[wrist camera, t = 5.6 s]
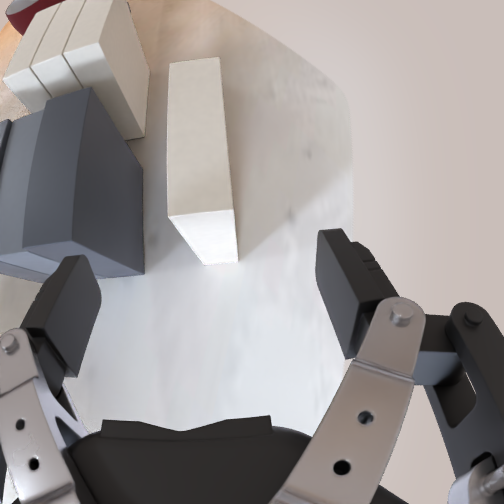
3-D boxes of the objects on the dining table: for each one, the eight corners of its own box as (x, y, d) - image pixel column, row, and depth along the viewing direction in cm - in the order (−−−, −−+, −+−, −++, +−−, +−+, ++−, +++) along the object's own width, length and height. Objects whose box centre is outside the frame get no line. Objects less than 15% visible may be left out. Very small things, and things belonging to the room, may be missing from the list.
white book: (203, 265, 24) (166, 217, 12) (196, 162, 25) (169, 61, 14) (238, 262, 24) (234, 210, 12) (228, 159, 26) (220, 54, 14)
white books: (68, 153, 25) (1, 80, 14) (81, 87, 27) (36, 12, 15) (145, 137, 26) (98, 42, 14) (150, 70, 28) (121, -19, 16)
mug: (104, 10, 30) (85, -41, 20) (104, 39, 29) (79, -19, 19) (39, 40, 29) (13, -4, 20) (32, 73, 28) (-2, 25, 18)
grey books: (44, 283, 23) (-49, 261, 12) (49, 187, 25) (-24, 129, 14) (144, 274, 24) (72, 241, 12) (143, 168, 25) (91, 85, 14)
